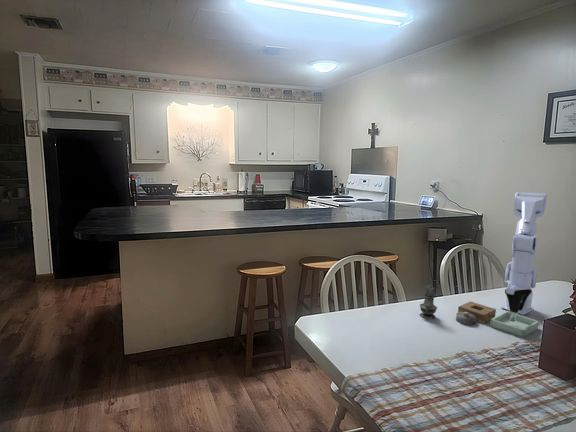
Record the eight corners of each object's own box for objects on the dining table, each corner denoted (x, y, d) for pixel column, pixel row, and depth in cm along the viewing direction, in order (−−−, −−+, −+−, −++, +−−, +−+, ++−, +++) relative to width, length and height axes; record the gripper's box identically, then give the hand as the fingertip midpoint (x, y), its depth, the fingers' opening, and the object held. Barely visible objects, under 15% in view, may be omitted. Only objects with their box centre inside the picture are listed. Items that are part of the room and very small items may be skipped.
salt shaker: (438, 320, 128) (440, 286, 127) (420, 318, 130) (422, 285, 128) (434, 313, 134) (437, 281, 132) (417, 312, 135) (420, 280, 134)
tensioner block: (469, 308, 140) (470, 301, 139) (495, 317, 133) (496, 309, 132) (448, 318, 130) (449, 310, 130) (474, 328, 123) (475, 319, 123)
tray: (505, 317, 132) (506, 311, 132) (538, 328, 124) (539, 321, 124) (489, 326, 125) (490, 319, 124) (523, 338, 117) (524, 330, 116)
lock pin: (507, 316, 127) (513, 295, 125) (518, 320, 125) (524, 298, 123) (504, 318, 125) (509, 296, 123) (514, 323, 123) (520, 300, 121)
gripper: (516, 264, 129) (512, 302, 131) (498, 271, 120) (493, 311, 122) (539, 269, 124) (534, 308, 126) (522, 277, 115) (517, 318, 117)
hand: (515, 310), depth 124 cm, fingers closed on lock pin, 3 cm apart
